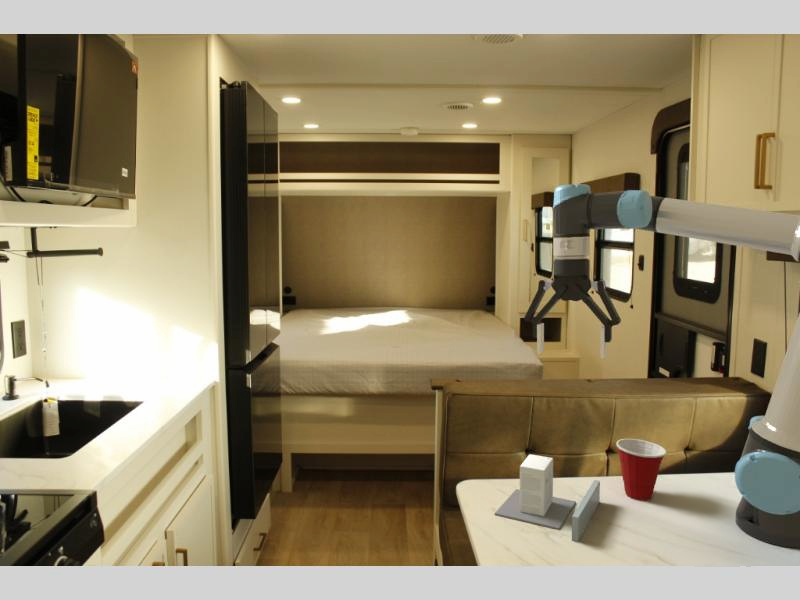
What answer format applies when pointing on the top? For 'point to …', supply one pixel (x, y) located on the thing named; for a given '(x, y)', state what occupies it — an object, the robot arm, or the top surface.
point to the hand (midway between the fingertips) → (571, 355)
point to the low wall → (585, 510)
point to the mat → (551, 519)
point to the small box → (536, 485)
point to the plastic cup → (639, 466)
